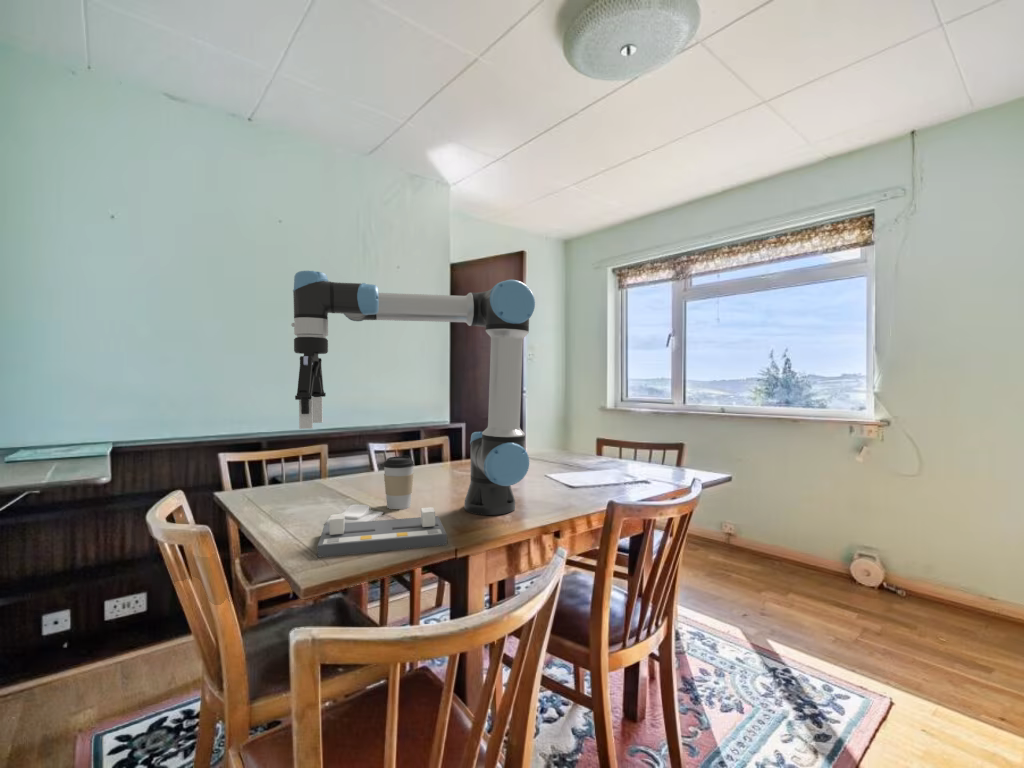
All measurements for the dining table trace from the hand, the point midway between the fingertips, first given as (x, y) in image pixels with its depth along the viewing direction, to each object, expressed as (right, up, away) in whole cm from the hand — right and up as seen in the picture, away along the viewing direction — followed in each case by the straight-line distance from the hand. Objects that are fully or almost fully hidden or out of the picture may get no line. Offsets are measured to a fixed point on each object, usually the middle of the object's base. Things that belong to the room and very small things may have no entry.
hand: (311, 425), depth 114 cm
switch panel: (+18, -27, 0) cm, 32 cm away
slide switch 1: (+7, -25, -4) cm, 26 cm away
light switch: (+5, -28, +16) cm, 33 cm away
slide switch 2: (+28, -25, +2) cm, 37 cm away
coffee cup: (+14, -27, +28) cm, 42 cm away
